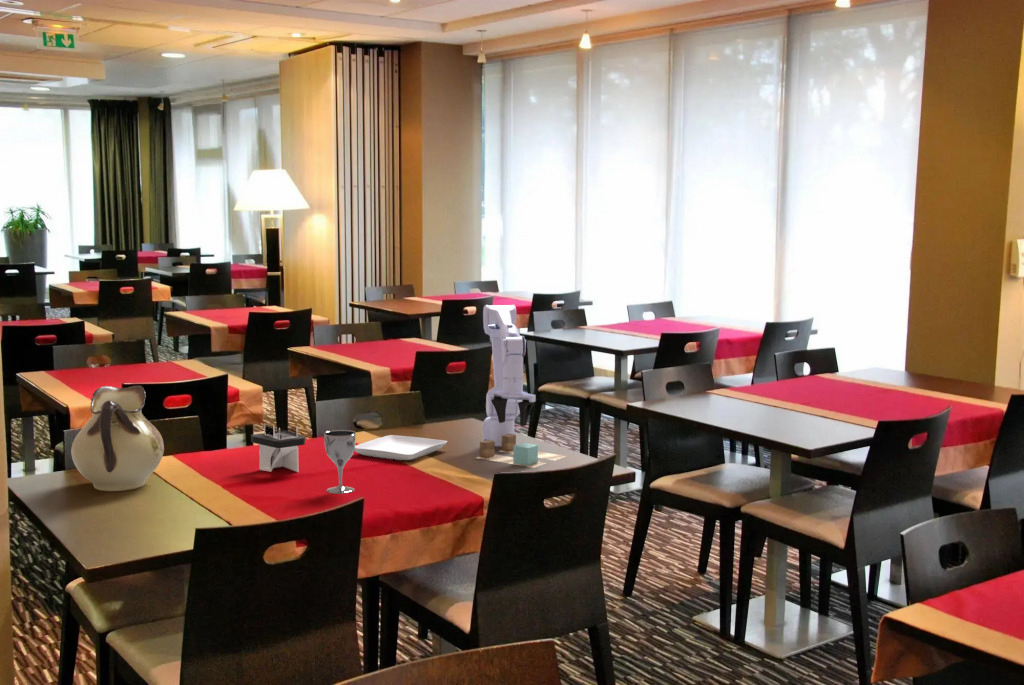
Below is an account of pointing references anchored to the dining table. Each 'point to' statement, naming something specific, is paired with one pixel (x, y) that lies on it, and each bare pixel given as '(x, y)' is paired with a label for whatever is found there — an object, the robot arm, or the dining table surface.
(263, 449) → the black-topped pedestal
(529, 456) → the teal block
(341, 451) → the wine glass
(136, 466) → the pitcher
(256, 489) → the dining table surface
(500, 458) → the strip
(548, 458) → the empty strip
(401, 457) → the salad plate
